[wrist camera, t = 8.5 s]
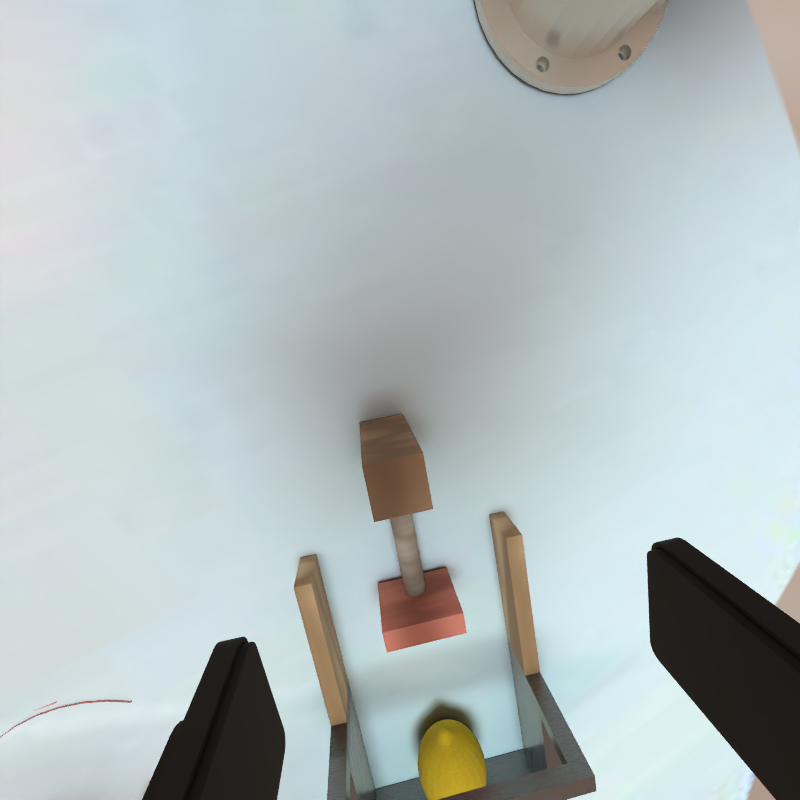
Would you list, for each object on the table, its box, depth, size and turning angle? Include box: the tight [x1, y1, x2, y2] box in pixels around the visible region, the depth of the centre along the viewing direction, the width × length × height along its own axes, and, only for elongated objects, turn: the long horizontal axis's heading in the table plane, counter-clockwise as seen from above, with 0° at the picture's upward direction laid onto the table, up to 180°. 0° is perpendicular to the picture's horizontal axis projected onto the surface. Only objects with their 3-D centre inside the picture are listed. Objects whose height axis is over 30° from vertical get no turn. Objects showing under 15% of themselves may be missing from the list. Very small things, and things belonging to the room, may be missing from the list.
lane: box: [294, 512, 540, 726], centre depth 32 cm, size 16×12×4 cm
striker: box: [360, 414, 467, 652], centre depth 27 cm, size 6×15×9 cm, turn 10°
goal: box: [327, 642, 596, 800], centre depth 31 cm, size 16×13×11 cm
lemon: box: [418, 719, 487, 800], centre depth 34 cm, size 6×6×8 cm
